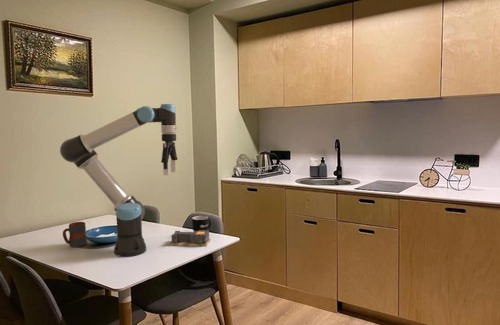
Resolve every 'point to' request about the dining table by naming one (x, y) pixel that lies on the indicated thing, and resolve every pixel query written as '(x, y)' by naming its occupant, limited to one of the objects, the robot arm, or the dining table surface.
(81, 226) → the mug
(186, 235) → the cable bar
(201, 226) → the mug
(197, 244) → the grey block assembly
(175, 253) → the dining table surface
